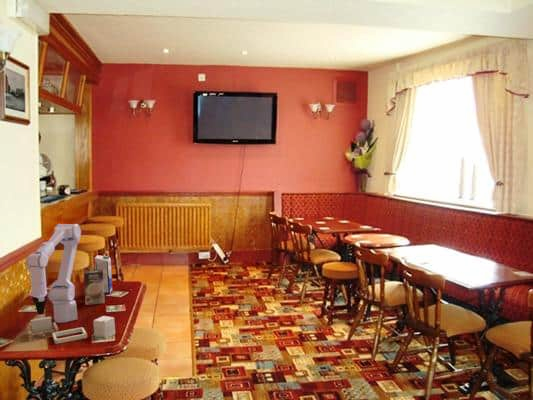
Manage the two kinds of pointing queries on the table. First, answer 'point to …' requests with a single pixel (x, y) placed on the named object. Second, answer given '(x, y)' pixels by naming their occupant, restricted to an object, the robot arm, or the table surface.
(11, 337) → the table surface
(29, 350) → the table surface
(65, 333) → the tray
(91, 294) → the coffee box
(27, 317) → the table surface
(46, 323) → the block
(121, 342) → the table surface
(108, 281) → the milk carton
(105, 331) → the skincare box
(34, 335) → the offcut
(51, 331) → the offcut
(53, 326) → the rack
